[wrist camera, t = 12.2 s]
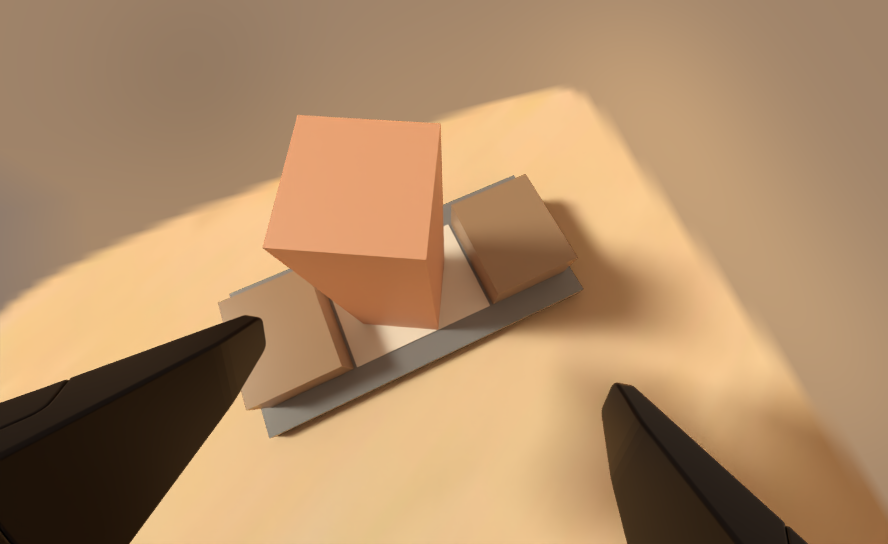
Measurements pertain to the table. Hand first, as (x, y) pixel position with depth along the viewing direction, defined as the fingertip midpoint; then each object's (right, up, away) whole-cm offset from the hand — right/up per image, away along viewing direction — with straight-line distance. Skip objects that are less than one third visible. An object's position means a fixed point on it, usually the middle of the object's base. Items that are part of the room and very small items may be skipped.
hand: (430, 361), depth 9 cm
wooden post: (-2, +1, +13) cm, 13 cm away
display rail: (-2, +1, +14) cm, 14 cm away
